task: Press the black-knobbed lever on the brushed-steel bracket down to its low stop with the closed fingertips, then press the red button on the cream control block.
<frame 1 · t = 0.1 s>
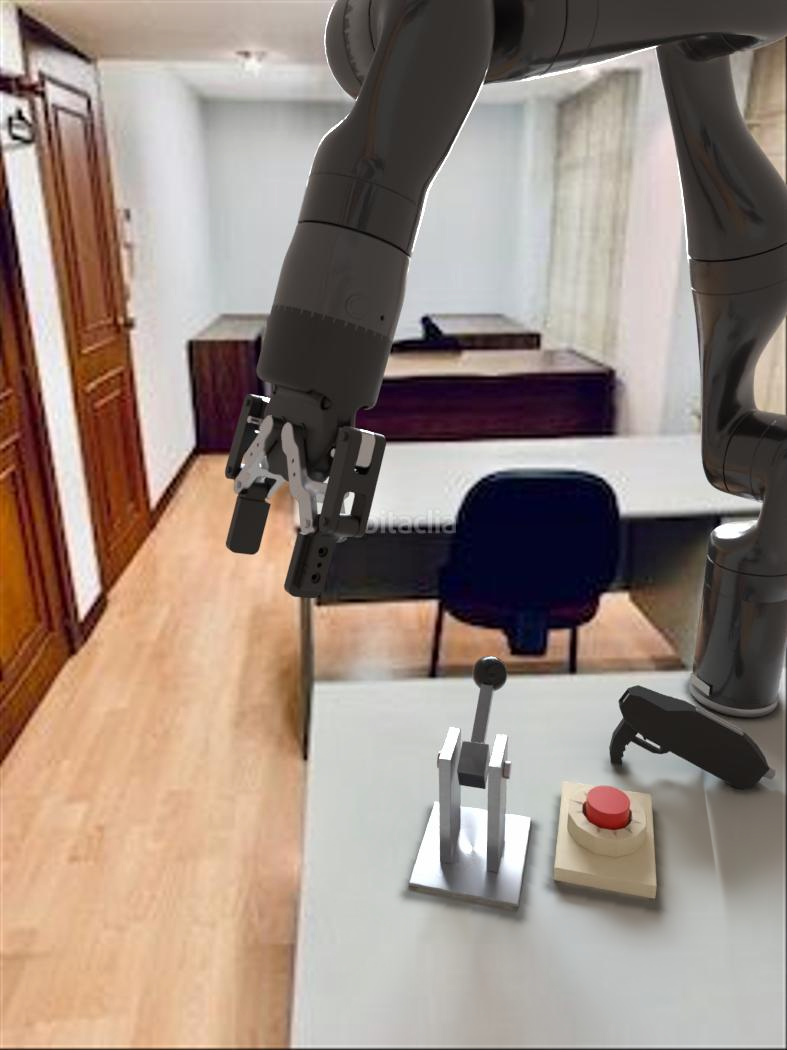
hand: (268, 572, 48), 31 cm above the table, tool tilted 20°, fingers open, 8 cm apart
start button: (607, 807, 65), point 4 cm above the table, slide at 0.1 cm
lever bracket: (472, 859, 66), on the table
press lever: (482, 716, 66), point 12 cm above the table, hinge at 25.0°
gun: (688, 776, 76), on the table
button block: (603, 848, 67), on the table
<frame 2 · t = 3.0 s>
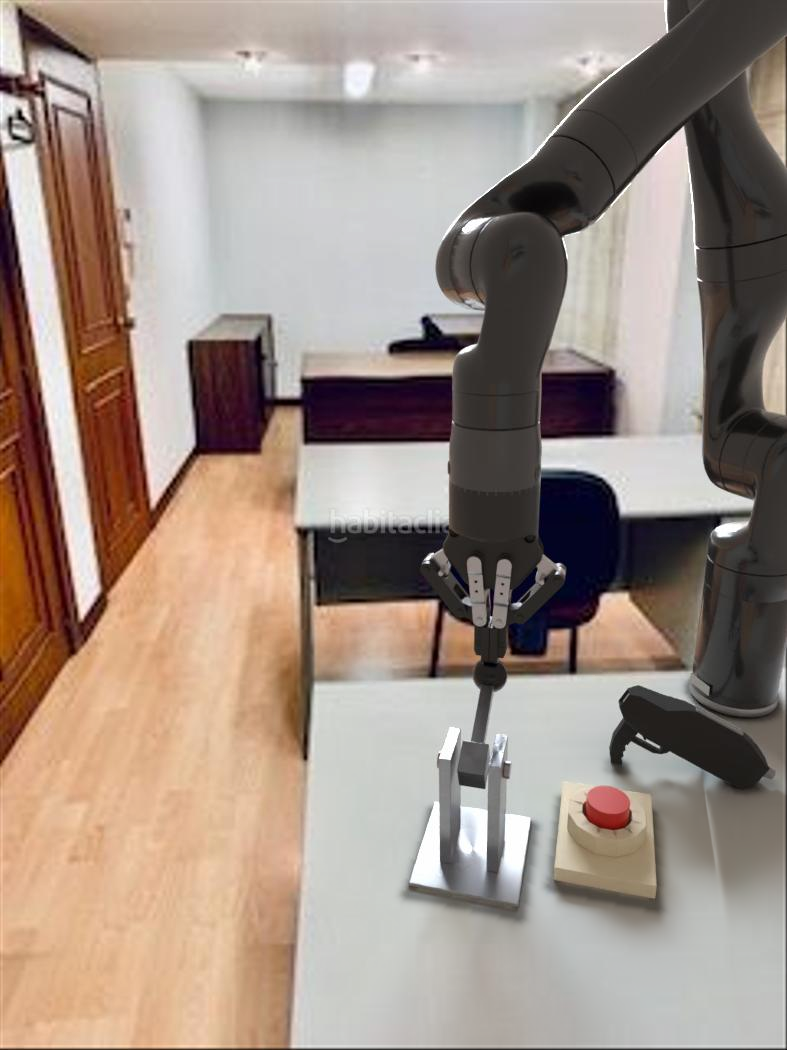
hand: (490, 658, 69), 15 cm above the table, tool pointing down, fingers closed
press lever: (482, 716, 66), point 12 cm above the table, hinge at 23.7°, touching gripper
everything else where it was.
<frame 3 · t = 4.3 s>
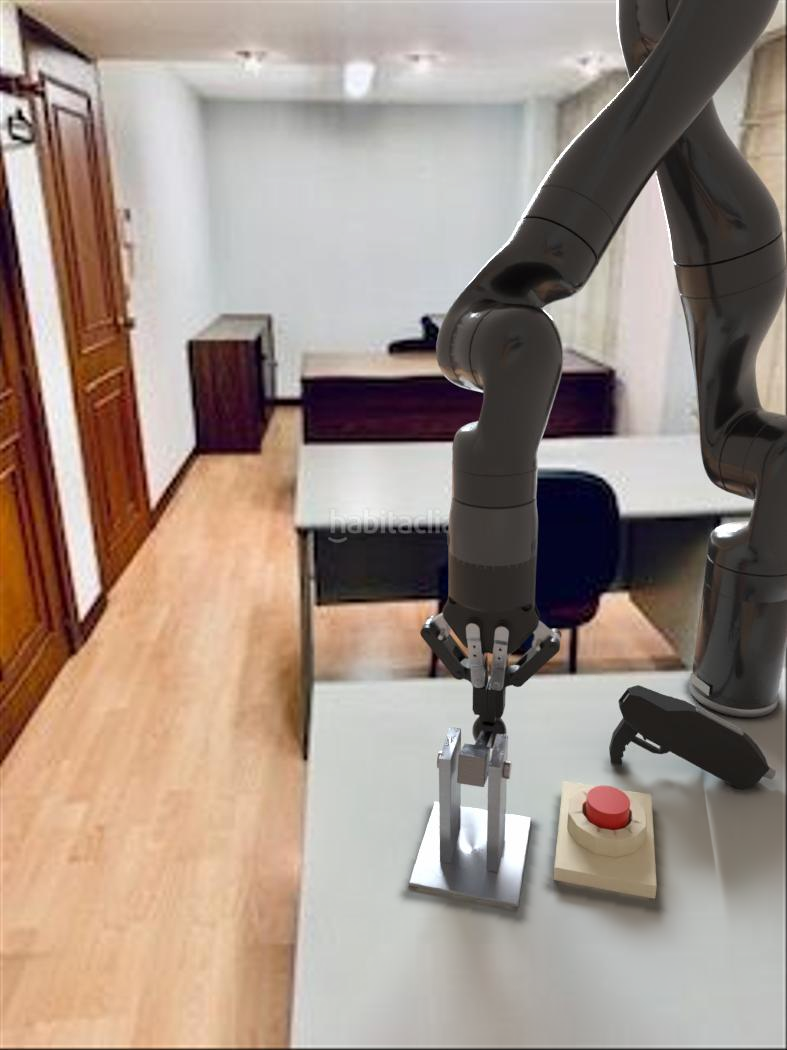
hand: (488, 717, 71), 9 cm above the table, tool pointing down, fingers closed
press lever: (482, 746, 67), point 9 cm above the table, hinge at -17.5°
everything else where it was.
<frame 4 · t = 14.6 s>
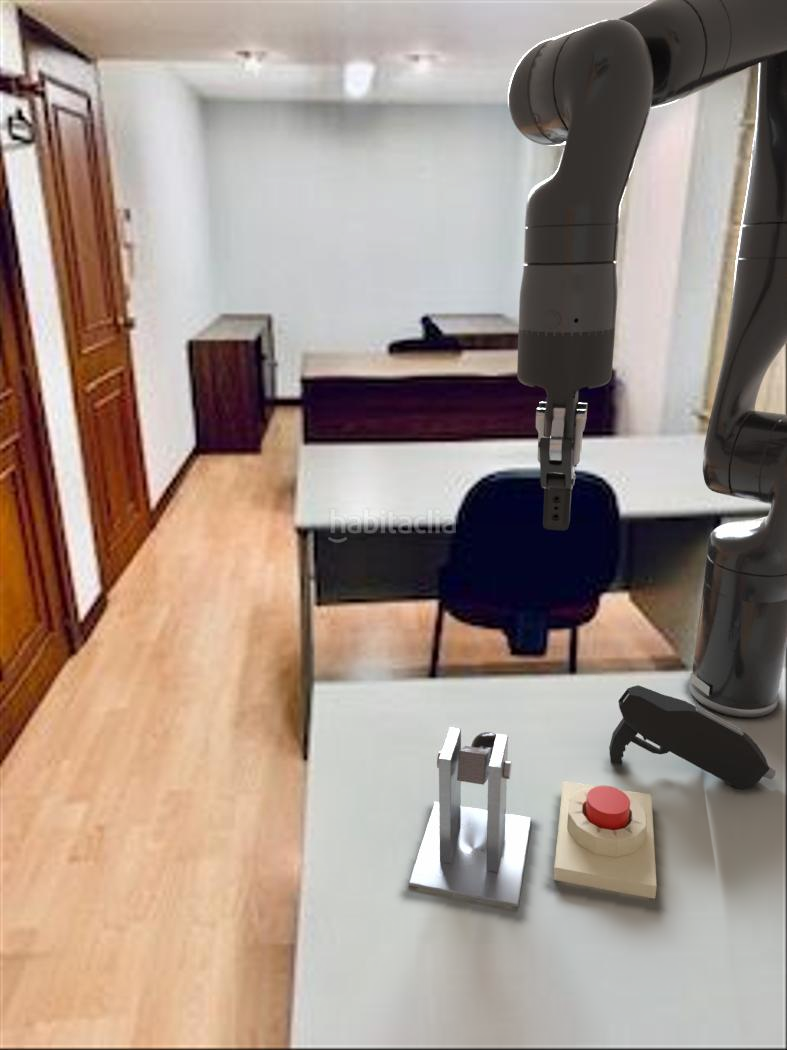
hand: (556, 526, 66), 27 cm above the table, tool pointing down, fingers closed
press lever: (481, 756, 67), point 8 cm above the table, hinge at -28.6°
everything else where it was.
at the end: press lever at -29° (first picture: +25°); start button pushed in 1.1 cm at the most during the clip, back to where it started at the end; start button slide at 0.1 cm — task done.
